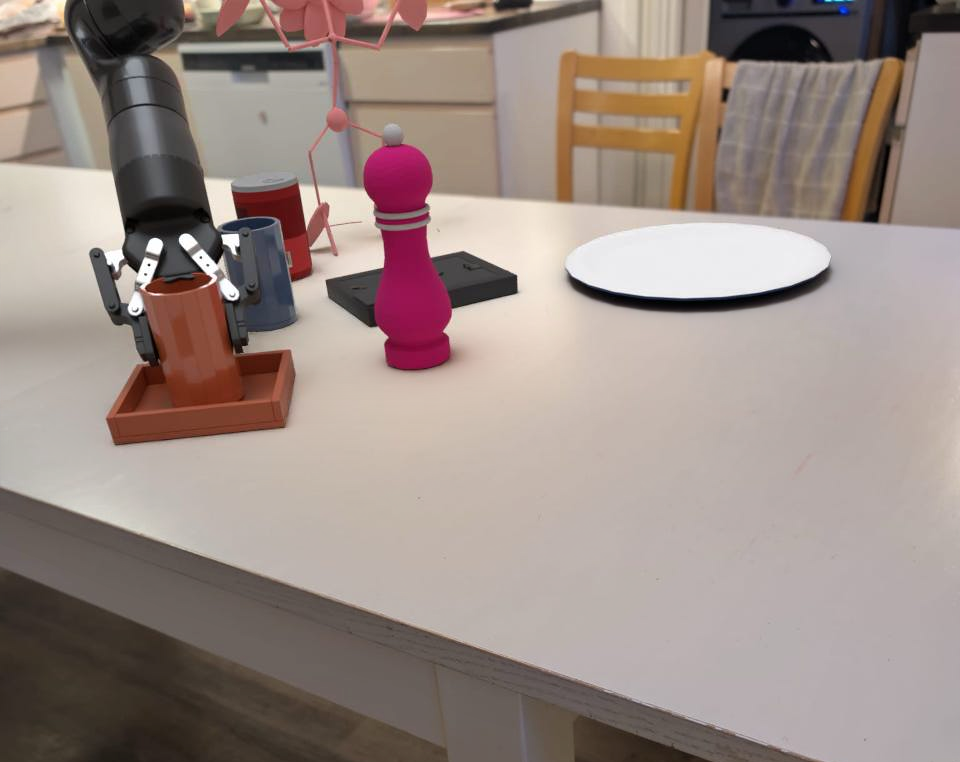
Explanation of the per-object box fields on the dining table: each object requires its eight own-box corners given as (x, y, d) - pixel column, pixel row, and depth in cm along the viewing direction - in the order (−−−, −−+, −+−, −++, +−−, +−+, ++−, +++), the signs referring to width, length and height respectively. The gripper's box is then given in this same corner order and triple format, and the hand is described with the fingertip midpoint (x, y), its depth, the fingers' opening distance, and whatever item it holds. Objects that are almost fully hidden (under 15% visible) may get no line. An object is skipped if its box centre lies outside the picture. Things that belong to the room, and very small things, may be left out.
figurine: (457, 231, 128) (431, -93, 107) (279, 269, 119) (212, -76, 98) (408, 212, 139) (376, -85, 118) (242, 245, 130) (175, -69, 109)
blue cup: (235, 334, 100) (212, 235, 94) (242, 314, 105) (221, 220, 99) (295, 327, 100) (276, 228, 94) (299, 309, 105) (281, 214, 99)
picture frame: (370, 326, 98) (518, 292, 104) (367, 305, 97) (517, 271, 103) (327, 296, 108) (464, 266, 114) (324, 276, 107) (463, 247, 112)
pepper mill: (381, 348, 93) (350, 121, 81) (454, 341, 93) (433, 113, 81) (380, 375, 87) (346, 134, 75) (457, 367, 87) (436, 126, 75)
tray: (114, 444, 79) (105, 418, 77) (143, 389, 89) (136, 364, 87) (285, 427, 79) (279, 400, 78) (295, 373, 89) (290, 348, 88)
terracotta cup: (166, 416, 81) (131, 298, 75) (178, 387, 86) (147, 276, 80) (240, 408, 81) (211, 290, 75) (248, 380, 86) (222, 268, 80)
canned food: (326, 269, 117) (310, 173, 111) (281, 287, 112) (262, 188, 106) (282, 263, 121) (264, 170, 115) (237, 280, 116) (216, 184, 110)
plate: (867, 300, 94) (870, 283, 93) (576, 322, 95) (576, 305, 94) (788, 228, 117) (790, 213, 116) (555, 246, 118) (555, 231, 117)
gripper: (60, 162, 77) (97, 349, 75) (236, 140, 79) (277, 321, 77) (86, 217, 84) (120, 389, 82) (247, 195, 86) (284, 362, 84)
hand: (196, 355), depth 79 cm, fingers closed on terracotta cup, 6 cm apart
